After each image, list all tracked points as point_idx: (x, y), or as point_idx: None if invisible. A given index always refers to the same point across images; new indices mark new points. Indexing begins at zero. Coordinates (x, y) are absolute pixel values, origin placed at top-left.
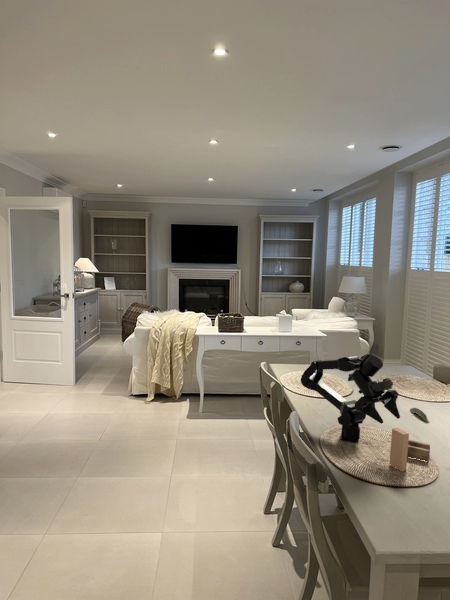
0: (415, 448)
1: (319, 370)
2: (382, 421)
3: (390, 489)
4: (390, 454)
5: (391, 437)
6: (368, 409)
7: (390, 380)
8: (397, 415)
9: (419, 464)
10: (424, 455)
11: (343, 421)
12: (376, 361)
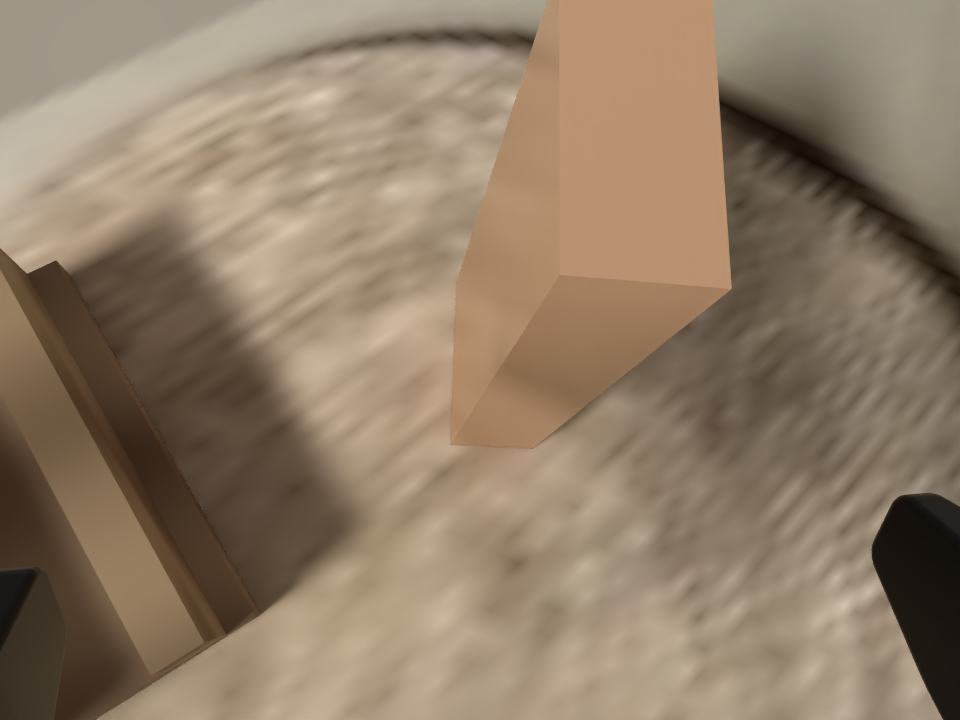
0: (61, 375)
1: None
2: (946, 504)
3: (862, 137)
4: (563, 419)
5: (651, 352)
6: None
7: None
8: (17, 674)
9: (194, 297)
10: (29, 295)
11: None
12: None
